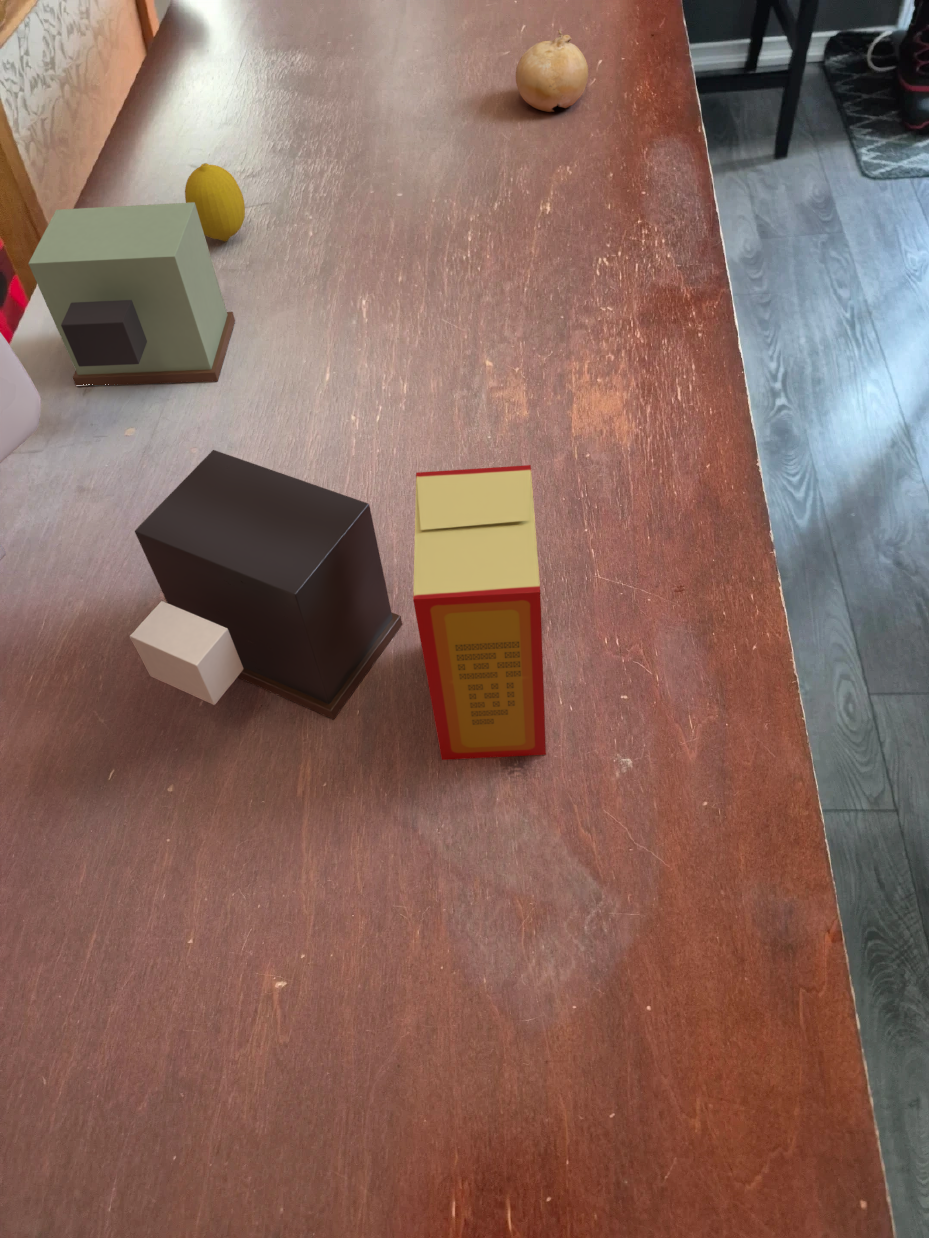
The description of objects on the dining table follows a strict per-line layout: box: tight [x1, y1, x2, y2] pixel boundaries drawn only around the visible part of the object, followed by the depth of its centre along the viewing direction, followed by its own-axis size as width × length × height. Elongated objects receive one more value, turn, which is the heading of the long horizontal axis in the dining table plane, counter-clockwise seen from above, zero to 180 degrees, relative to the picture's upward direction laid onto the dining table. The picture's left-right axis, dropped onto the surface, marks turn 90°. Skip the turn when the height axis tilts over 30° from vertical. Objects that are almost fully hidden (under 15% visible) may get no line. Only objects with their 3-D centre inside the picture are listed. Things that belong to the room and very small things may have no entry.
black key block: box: [134, 449, 403, 720], centre depth 69 cm, size 9×13×12 cm
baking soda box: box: [412, 464, 547, 761], centre depth 64 cm, size 10×6×16 cm
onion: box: [515, 27, 589, 113], centre depth 117 cm, size 8×8×7 cm
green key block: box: [27, 202, 236, 386], centre depth 92 cm, size 9×13×12 cm
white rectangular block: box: [129, 600, 244, 706], centre depth 64 cm, size 3×5×4 cm, turn 61°
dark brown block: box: [61, 300, 147, 367], centre depth 85 cm, size 3×5×4 cm, turn 88°
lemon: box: [184, 162, 246, 243], centre depth 104 cm, size 6×6×8 cm
